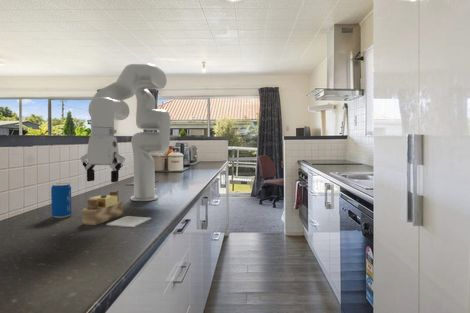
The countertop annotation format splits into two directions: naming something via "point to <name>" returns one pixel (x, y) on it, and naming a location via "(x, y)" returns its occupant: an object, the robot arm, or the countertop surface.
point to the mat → (129, 221)
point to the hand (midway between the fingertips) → (102, 181)
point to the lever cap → (105, 200)
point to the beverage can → (61, 200)
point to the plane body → (101, 211)
